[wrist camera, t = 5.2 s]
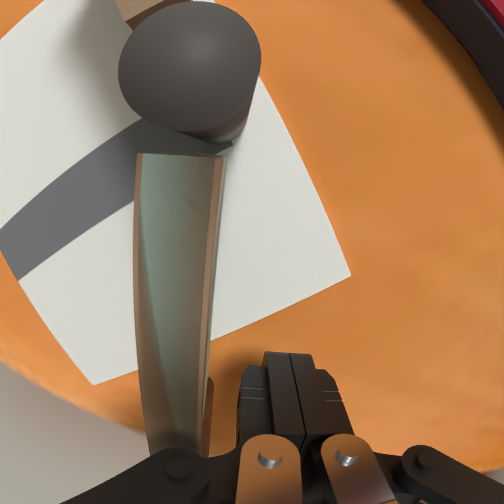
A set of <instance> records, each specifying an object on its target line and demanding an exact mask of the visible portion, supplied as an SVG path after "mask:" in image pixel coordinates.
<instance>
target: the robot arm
mask: <svg viewBox="0 0 504 504" xmlns="http://www.w3.org/2000/svg"><path fill="white" fill-rule="evenodd" d="M236 429H237V430H236V447H235V448H234V449H233V450H232V451H230V452H229V453H227V454H224V455H221V456H216V457H210V458H203V457H201V456H200V455H199V454H197V453H196V452H194V451H191V450H188V449H185V448H176V447H175V448H167V449H163V450H160V451H158V452H156V453H155V454H153V455H152V456H150V457H148V458H146V459H145V460H143V461H141V462H140V463H138V464H136V465H135V466H133V467H131V468H129V469H127V470H126V471H124V472H122V473H120V474H118V475H117V476H115V477H113V478H111V479H109V480H107V481H105V482H104V483H102V484H100V485H98V486H96V487H94V488H92V489H90V490H88V491H86V492H84V493H82V494H80V495H78V496H75V497H73V498H71V499H69V500H67V501H65V502H62V503H60V504H422V503H421V502H419V501H420V500H424V501H425V502H427V503H428V504H504V485H503V484H501V483H498V482H497V481H495V480H493V479H491V478H489V477H487V476H485V475H483V474H481V473H479V472H477V471H475V470H473V469H471V468H469V467H467V466H465V465H463V464H462V463H460V462H458V461H456V460H454V459H452V458H450V457H449V456H447V455H445V454H443V453H441V452H439V451H438V450H436V449H434V448H432V447H429V446H426V445H416V446H412V447H410V448H408V449H407V450H406V451H405V452H404V454H403V455H402V456H396V455H388V454H381V453H376V452H373V451H372V449H371V447H370V446H369V445H368V443H367V442H365V441H364V440H363V439H361V438H359V437H357V436H355V435H354V432H353V429H352V426H351V424H350V421H349V418H348V415H347V412H346V410H345V407H344V404H343V402H342V399H341V396H340V393H338V388H337V385H336V382H335V380H334V378H333V377H332V376H331V375H330V374H329V373H328V372H327V371H326V370H324V369H316V368H315V365H314V362H313V359H312V356H311V354H298V353H281V352H268V351H266V352H265V354H264V358H263V363H262V366H253V365H248V367H247V368H246V370H245V371H244V372H243V374H242V377H241V384H240V390H239V397H238V403H237V424H236Z"/></svg>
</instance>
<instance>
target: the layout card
mask: <svg viewBox="0 0 504 504" xmlns="http://www.w3.org/2000/svg"><path fill="white" fill-rule="evenodd" d="M191 1H205V2H212V3H215V2H214V0H191ZM132 32H133V30H132V29H131V27H130V26H129V25H128V24H127V23H126V22H125V21H124V19H123V17H122V15H121V13H120V11H119V9H118V7H117V5H116V3H115V1H114V0H44V1H43V2H42V3H41V4H39V5H38V6H37V7H36V8H35V9H33V10H32V11H31V12H30V13H29V14H28V15H26V16H25V17H24V18H23V19H22V20H21V21H20V22H19V23H17V24H16V25H15V26H14V27H13V28H12V29H11V30H10V31H9V32H8V33H7V34H6V35H5V36H4V37H3V38H2V39H1V40H0V250H1V252H2V254H3V256H4V257H5V259H6V261H7V263H8V265H9V267H10V269H11V270H12V272H13V274H14V276H15V277H16V279H17V281H18V282H19V283H20V285H21V287H22V288H23V290H24V292H25V293H26V295H27V297H28V298H29V300H30V301H31V303H32V304H33V306H34V308H35V309H36V311H37V312H38V314H39V315H40V317H41V318H42V320H43V321H44V323H45V324H46V325H47V327H48V328H49V330H50V331H51V333H52V334H53V335H54V337H55V338H56V340H57V341H58V342H59V344H60V345H61V346H62V348H63V349H64V350H65V352H66V353H67V354H68V355H69V357H70V358H71V359H72V361H73V362H74V363H75V364H76V366H77V367H78V368H79V369H80V370H81V372H82V373H83V374H84V375H85V376H86V378H87V379H88V380H89V381H90V382H91V384H92V385H93V386H94V385H96V384H99V383H102V382H105V381H108V380H111V379H114V378H116V377H119V376H122V375H125V374H127V373H130V372H133V371H136V370H138V363H137V352H136V339H135V323H134V302H133V215H134V194H135V178H136V165H137V153H200V154H211V155H222V156H228V163H227V171H226V180H225V189H224V198H223V207H222V216H221V226H220V236H219V246H218V256H217V267H216V278H215V289H214V301H213V313H212V326H211V339H210V341H212V340H214V339H216V338H219V337H221V336H223V335H226V334H228V333H230V332H233V331H235V330H237V329H240V328H242V327H244V326H246V325H249V324H251V323H253V322H255V321H258V320H260V319H262V318H264V317H267V316H269V315H271V314H273V313H275V312H278V311H280V310H282V309H284V308H286V307H288V306H290V305H293V304H295V303H297V302H299V301H301V300H303V299H305V298H307V297H309V296H311V295H314V294H316V293H318V292H320V291H322V290H324V289H326V288H328V287H330V286H332V285H334V284H336V283H338V282H340V281H342V280H344V279H346V278H348V277H350V276H351V273H350V271H349V268H348V266H347V263H346V260H345V258H344V255H343V253H342V250H341V248H340V245H339V243H338V241H337V238H336V236H335V233H334V231H333V228H332V226H331V224H330V221H329V219H328V217H327V214H326V212H325V210H324V207H323V205H322V203H321V201H320V198H319V196H318V194H317V192H316V189H315V187H314V185H313V183H312V181H311V178H310V176H309V174H308V172H307V170H306V168H305V165H304V163H303V161H302V159H301V157H300V155H299V153H298V151H297V149H296V147H295V145H294V142H293V140H292V138H291V136H290V134H289V132H288V130H287V128H286V126H285V124H284V122H283V120H282V118H281V117H280V115H279V113H278V111H277V109H276V107H275V105H274V103H273V101H272V99H271V97H270V95H269V94H268V92H267V90H266V88H265V86H264V84H263V82H262V81H261V79H260V77H259V76H258V80H257V83H256V87H255V91H254V95H253V99H252V103H251V107H250V111H249V115H248V119H247V123H246V125H245V127H244V129H243V130H242V132H241V133H240V134H239V135H238V136H237V137H236V138H234V139H232V140H230V141H228V142H225V143H220V144H213V143H208V142H205V141H202V140H199V139H196V138H194V137H191V136H188V135H185V134H182V133H179V132H176V131H173V130H170V129H167V128H164V127H161V126H158V125H155V124H153V123H151V122H149V121H146V120H145V119H143V118H142V117H140V116H139V115H138V114H137V113H136V112H134V111H133V110H132V108H131V107H130V106H129V105H128V103H127V102H126V100H125V98H124V97H123V94H122V92H121V89H120V85H119V81H118V64H119V59H120V55H121V52H122V49H123V47H124V45H125V43H126V41H127V39H128V38H129V36H130V35H131V33H132Z"/></svg>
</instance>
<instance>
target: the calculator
mask: <svg viewBox="0 0 504 504" xmlns="http://www.w3.org/2000/svg"><path fill="white" fill-rule="evenodd" d="M422 1H423V2H424V3H425V4H426V5H427V6H428V7H429V8H430V9H431V10H432V11H433V12H434V13H435V14H436V15H437V16H438V17H439V18H440V19H441V21H442V22H443V23H444V24H445V25H446V26H447V27H448V28H449V29H450V30H451V32H452V33H453V34H454V35H455V36H456V37H457V39H458V40H459V41H460V42H461V43H462V45H463V46H464V47H465V48H466V49H467V51H468V52H469V53H470V55H471V56H472V57H473V58H474V60H475V61H476V62H477V64H478V67H479V70H480V73H481V74H482V76H483V78H484V79H485V81H486V82H487V84H488V85H489V87H490V88H491V90H492V92H493V93H494V95H495V96H496V98H497V100H498V101H499V103H500V105H501V106H502V108H503V110H504V0H422Z"/></svg>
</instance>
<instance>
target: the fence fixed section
mask: <svg viewBox="0 0 504 504" xmlns="http://www.w3.org/2000/svg"><path fill="white" fill-rule="evenodd" d="M114 1H115V3H116V5H117V7H118V9H119V11H120V13H121V15H122V17H123V19H124V21H125V22H126V23H127V24H128V25H129V26H130V27H131V29H132V30H133V32H132V33H131V35H130V36H129V38H128V39H127V41H126V43H125V45H124V47H123V49H122V52H121V55H120V59H119V64H118V81H119V85H120V89H121V92H122V94H123V97H124V98H125V100H126V102H127V103H128V105H129V106H130V107H131V108H132V110H133V111H134V112H136V113H137V114H138V115H139V116H140V117H142V118H143V119H145V120H146V121H149V122H151V123H153V124H155V125H158V126H161V127H164V128H167V129H170V130H173V131H176V132H179V133H182V134H185V135H188V136H191V137H194V138H196V139H199V140H202V141H205V142H208V143H213V144H220V143H225V142H228V141H230V140H232V139H234V138H236V137H237V136H238V135H239V134H240V133H241V132H242V130H243V129H244V127H245V125H246V123H247V119H248V115H249V111H250V107H251V103H252V99H253V95H254V91H255V87H256V83H257V80H258V76H259V72H260V66H261V51H260V45H259V42H258V39H257V36H256V34H255V32H254V31H253V29H252V28H251V26H250V25H249V23H248V22H247V21H246V20H245V19H244V18H243V17H241V16H240V15H239V14H238V13H236V12H235V11H233V10H231V9H229V8H227V7H225V6H222V5H219V4H216V3H212V2H205V1H191V0H114Z"/></svg>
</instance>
